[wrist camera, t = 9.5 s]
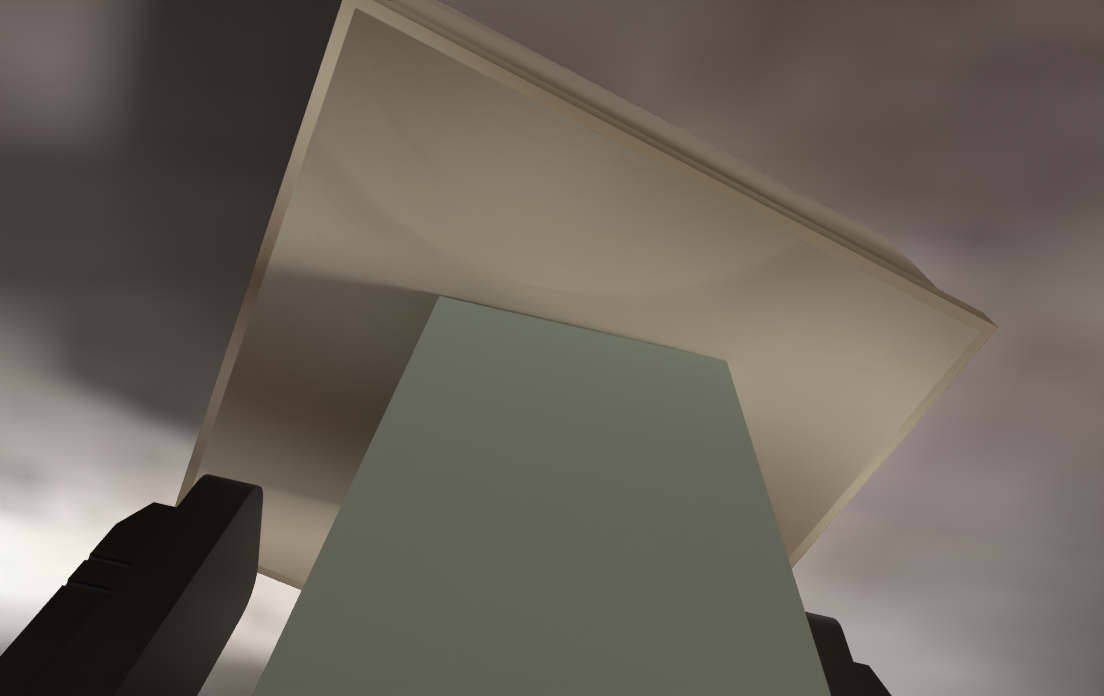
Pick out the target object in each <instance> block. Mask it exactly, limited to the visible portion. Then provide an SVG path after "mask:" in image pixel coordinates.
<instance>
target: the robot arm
mask: <svg viewBox="0 0 1104 696" xmlns="http://www.w3.org/2000/svg"><path fill="white" fill-rule="evenodd" d="M262 508H263V490H262V487H261V486H259V485H254V484H250V483H245V482H241V481H237V480H232V479H228V478H223V477H219V476H215V475H210V474H205V475H203V476H202V477H201V478H200V479H199V480H198V481H197V482H196V483H195V485H194V486H193V487H192V488H191V490H190V491H189V492H188V493H187V495H186V496H185V497H184V499H183V500H182V501H181V502H180V504H179V505H178V506H177V507H173V506H168V505H164V504H159V503H155V502H153V503H152V504H150V505H148V506H146V507H145V508H143V509H141V510H139V511H138V512H136V513H134V514H133V515H131V516H129V517H127V518H126V519H124V520H122V521H120V522H119V523H117V524H116V525H115V526H114V527H113V528H112V529H111V530H110V531H109V533H108V534H107V535H106V536H105V537H104V538H103V540H102V541H101V542H100V543H99V544H98V545H97V546H96V548H95V549H94V550H93V551H92V552H91V553H90V556H89V559H88V560H84V561H83V562H82V564H81V565H80V566H79V567H78V568H77V569H76V570H75V572H74V573H73V574H72V575H71V576H70V577H69V578H68V582H67V584H66V585H65V586H63V585H62V586H61V588H60V589H59V590H58V591H57V592H56V593H55V594H54V596H53V597H52V598H51V599H50V600H49V601H48V602H47V604H46V605H45V606H44V607H43V608H42V609H41V610H40V612H39V613H38V614H37V615H36V616H35V617H34V618H33V620H32V621H31V622H30V623H29V624H28V625H27V626H26V628H25V629H24V630H23V631H22V632H21V633H20V634H19V636H18V637H17V638H16V639H15V640H14V641H13V642H12V644H11V645H10V646H9V647H8V648H7V649H6V650H5V652H4V653H3V654H2V655H1V656H0V696H197V695H198V693H199V691H200V690H201V688H202V686H203V684H204V682H205V681H206V679H207V677H208V675H209V674H210V672H211V670H212V668H213V666H214V665H215V663H216V661H217V659H218V658H219V656H220V654H221V652H222V650H223V649H224V647H225V645H226V643H227V642H228V640H229V638H230V636H231V634H232V633H233V631H234V629H235V627H236V625H237V624H238V622H239V620H240V618H241V617H242V615H243V613H244V611H245V609H246V607H247V604H248V602H249V599H250V597H251V594H252V591H253V588H254V584H255V580H256V576H257V571H258V561H259V548H260V534H261V521H262ZM805 614H806V617H807V620H808V623H809V626H810V630H811V633H812V636H813V639H814V642H815V646H816V649H817V652H818V655H819V658H820V662H821V665H822V668H823V671H824V674H825V678H826V681H827V684H828V687H829V691H830V694H831V696H891V694H890V693H889V692H888V690H887V689H886V688H885V686H884V685H883V684H882V682H881V681H880V680H879V678H878V677H877V676H876V674H875V673H874V672H873V670H872V669H871V668H870V666H869V665H865V664H860V663H856V662H853V659H852V656H851V654H850V651H849V648H848V645H847V642H846V639H845V636H844V633H843V630H842V628H841V625H840V624H839V622H838V621H837V620H836V619H834V618H830V617H826V616H822V615H817V614H813V613H808V612H805Z"/></svg>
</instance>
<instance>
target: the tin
mask: <svg viewBox="0 0 1104 696" xmlns="http://www.w3.org/2000/svg"><path fill="white" fill-rule="evenodd" d="M253 696H831V694H830V691H829V687H828V684H827V681H826V678H825V674H824V671H823V668H822V665H821V662H820V658H819V655H818V652H817V649H816V646H815V642H814V639H813V636H812V633H811V630H810V626H809V623H808V620H807V617H806V614H805V610H804V607H803V604H802V601H801V598H800V594H799V591H798V588H797V585H796V582H795V578H794V575H793V572H792V569H791V565H790V562H789V559H788V556H787V553H786V549H785V546H784V543H783V540H782V537H781V533H780V530H779V527H778V524H777V521H776V517H775V514H774V511H773V508H772V505H771V501H770V498H769V495H768V492H767V489H766V485H765V482H764V479H763V476H762V473H761V469H760V466H759V463H758V460H757V456H756V453H755V450H754V447H753V444H752V440H751V437H750V434H749V431H748V428H747V424H746V421H745V418H744V415H743V412H742V408H741V405H740V402H739V399H738V396H737V392H736V389H735V386H734V383H733V380H732V376H731V373H730V370H729V367H728V364H727V361H726V360H722V359H717V358H713V357H709V356H704V355H700V354H695V353H691V352H686V351H682V350H678V349H673V348H669V347H664V346H660V345H655V344H651V343H647V342H642V341H638V340H633V339H629V338H624V337H620V336H616V335H611V334H607V333H602V332H598V331H593V330H589V329H584V328H580V327H576V326H571V325H567V324H562V323H558V322H553V321H549V320H545V319H540V318H536V317H531V316H527V315H522V314H518V313H514V312H509V311H505V310H500V309H496V308H491V307H487V306H482V305H478V304H474V303H469V302H465V301H460V300H456V299H451V298H447V297H443V296H439V298H438V300H437V302H436V304H435V307H434V309H433V311H432V313H431V315H430V317H429V319H428V321H427V324H426V326H425V328H424V330H423V332H422V334H421V336H420V339H419V341H418V343H417V345H416V347H415V349H414V351H413V354H412V356H411V358H410V360H409V362H408V364H407V366H406V369H405V371H404V373H403V375H402V377H401V379H400V381H399V383H398V386H397V388H396V390H395V392H394V394H393V396H392V398H391V401H390V403H389V405H388V407H387V409H386V411H385V413H384V416H383V418H382V420H381V422H380V424H379V426H378V428H377V430H376V433H375V435H374V437H373V439H372V441H371V443H370V445H369V448H368V450H367V452H366V454H365V456H364V458H363V460H362V463H361V465H360V467H359V469H358V471H357V473H356V475H355V478H354V480H353V482H352V484H351V486H350V488H349V490H348V492H347V495H346V497H345V499H344V501H343V503H342V505H341V507H340V510H339V512H338V514H337V516H336V518H335V520H334V522H333V525H332V527H331V529H330V531H329V533H328V535H327V537H326V540H325V542H324V544H323V546H322V548H321V550H320V552H319V554H318V557H317V559H316V561H315V563H314V565H313V567H312V569H311V572H310V574H309V576H308V578H307V580H306V582H305V584H304V587H303V589H302V591H301V593H300V595H299V597H298V599H297V602H296V604H295V606H294V608H293V610H292V612H291V614H290V616H289V619H288V621H287V623H286V625H285V627H284V629H283V631H282V634H281V636H280V638H279V640H278V642H277V644H276V646H275V649H274V651H273V653H272V655H271V657H270V659H269V661H268V664H267V666H266V668H265V670H264V672H263V674H262V676H261V678H260V681H259V683H258V685H257V687H256V689H255V691H254V693H253Z"/></svg>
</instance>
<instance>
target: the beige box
mask: <svg viewBox="0 0 1104 696" xmlns="http://www.w3.org/2000/svg"><path fill="white" fill-rule="evenodd" d="M439 296H443V297H447V298H451V299H456V300H460V301H465V302H469V303H474V304H478V305H482V306H487V307H491V308H496V309H500V310H505V311H509V312H514V313H518V314H522V315H527V316H531V317H536V318H540V319H545V320H549V321H553V322H558V323H562V324H567V325H571V326H576V327H580V328H584V329H589V330H593V331H598V332H602V333H607V334H611V335H616V336H620V337H624V338H629V339H633V340H638V341H642V342H647V343H651V344H655V345H660V346H664V347H669V348H673V349H678V350H682V351H686V352H691V353H695V354H700V355H704V356H709V357H713V358H717V359H722V360H726V361H727V364H728V367H729V370H730V373H731V376H732V380H733V383H734V386H735V389H736V392H737V396H738V399H739V402H740V405H741V408H742V412H743V415H744V418H745V421H746V424H747V428H748V431H749V434H750V437H751V440H752V444H753V447H754V450H755V453H756V456H757V460H758V463H759V466H760V469H761V473H762V476H763V479H764V482H765V485H766V489H767V492H768V495H769V498H770V501H771V505H772V508H773V511H774V514H775V517H776V521H777V524H778V527H779V530H780V533H781V537H782V540H783V543H784V546H785V549H786V553H787V556H788V559H789V562H790V565H791V569H792V568H793V567H794V565H795V564H796V563H797V562H798V561H799V560H800V558H801V557H802V556H803V555H804V554H805V553H806V551H807V550H808V549H809V548H810V547H811V546H812V544H813V543H814V542H815V541H816V540H817V539H818V537H819V536H820V535H821V534H822V533H823V532H824V530H825V529H826V528H827V527H828V526H829V525H830V523H831V522H832V521H833V520H834V519H835V518H836V516H837V515H838V514H839V513H840V512H841V511H842V509H843V508H844V507H845V506H846V505H847V504H848V502H849V501H850V500H851V499H852V498H853V497H854V495H855V494H856V493H857V492H858V491H859V490H860V488H861V487H862V486H863V485H864V484H865V483H866V481H867V480H868V479H869V478H870V477H871V476H872V474H873V473H874V472H875V471H876V470H877V469H878V468H879V466H880V465H881V464H882V463H883V462H884V461H885V459H886V458H887V457H888V456H889V455H890V454H891V452H892V451H893V450H894V449H895V448H896V447H897V445H898V444H899V443H900V442H901V441H902V440H903V438H904V437H905V436H906V435H907V434H908V433H909V431H910V430H911V429H912V428H913V427H914V426H915V424H916V423H917V422H918V421H919V420H920V419H921V417H922V416H923V415H924V414H925V413H926V412H927V410H928V409H929V408H930V407H931V406H932V405H933V403H934V402H935V401H936V400H937V399H938V398H939V396H940V395H941V394H942V393H943V392H944V391H945V389H946V388H947V387H948V386H949V385H950V384H951V382H952V381H953V380H954V379H955V378H956V377H957V375H958V374H959V373H960V372H961V371H962V370H963V368H964V367H965V366H966V365H967V364H968V363H969V361H970V360H971V359H972V358H973V357H974V356H975V354H976V353H977V352H978V351H979V350H980V349H981V347H982V346H983V345H984V344H985V343H986V342H987V340H988V339H989V338H990V337H991V336H992V335H993V333H994V332H995V331H996V330H997V329H998V327H997V326H996V325H995V324H994V323H993V322H992V321H991V320H990V319H989V318H988V317H987V316H986V315H985V314H984V313H983V312H981V311H979V310H977V309H975V308H973V307H971V306H969V305H967V304H966V303H964V302H962V301H960V300H958V299H956V298H954V297H952V296H950V295H948V294H946V293H945V292H943V291H941V290H939V289H937V288H936V287H935V286H934V284H933V283H932V282H931V281H930V280H929V279H928V278H927V277H926V276H925V275H924V274H923V273H922V272H921V271H920V270H919V269H918V268H917V267H916V266H915V265H914V264H913V263H912V262H911V261H910V260H909V259H908V258H907V257H906V256H905V255H904V254H903V253H902V252H901V251H900V250H899V249H898V248H897V247H896V246H895V245H894V244H893V243H892V242H891V241H890V240H889V239H887V238H885V237H883V236H881V235H879V234H878V233H876V232H874V231H872V230H870V229H868V228H866V227H864V226H862V225H861V224H859V223H857V222H855V221H853V220H851V219H849V218H847V217H845V216H844V215H842V214H840V213H838V212H836V211H834V210H832V209H830V208H828V207H827V206H825V205H823V204H821V203H819V202H817V201H815V200H813V199H811V198H810V197H808V196H806V195H804V194H802V193H800V192H798V191H796V190H794V189H793V188H791V187H789V186H787V185H785V184H783V183H781V182H779V181H777V180H776V179H774V178H772V177H770V176H768V175H766V174H764V173H762V172H760V171H759V170H757V169H755V168H753V167H751V166H749V165H747V164H745V163H743V162H742V161H740V160H738V159H736V158H734V157H732V156H730V155H728V154H727V153H725V152H723V151H721V150H719V149H717V148H715V147H713V146H711V145H710V144H708V143H706V142H704V141H702V140H700V139H698V138H696V137H694V136H693V135H691V134H689V133H687V132H685V131H683V130H681V129H679V128H677V127H676V126H674V125H672V124H670V123H668V122H666V121H664V120H662V119H660V118H659V117H657V116H655V115H653V114H651V113H649V112H647V111H645V110H643V109H642V108H640V107H638V106H636V105H634V104H632V103H630V102H628V101H626V100H625V99H623V98H621V97H619V96H617V95H615V94H613V93H611V92H609V91H608V90H606V89H604V88H602V87H600V86H598V85H596V84H594V83H592V82H591V81H589V80H587V79H585V78H583V77H581V76H579V75H577V74H575V73H574V72H572V71H570V70H568V69H566V68H564V67H562V66H560V65H558V64H557V63H555V62H553V61H551V60H549V59H547V58H545V57H543V56H541V55H540V54H538V53H536V52H534V51H532V50H530V49H528V48H526V47H524V46H523V45H521V44H519V43H517V42H515V41H513V40H511V39H509V38H507V37H506V36H504V35H502V34H500V33H498V32H496V31H494V30H492V29H490V28H489V27H487V26H485V25H483V24H481V23H479V22H477V21H475V20H474V19H472V18H470V17H468V16H466V15H464V14H462V13H460V12H458V11H457V10H455V9H453V8H451V7H449V6H447V5H445V4H443V3H441V2H440V1H438V0H390V1H388V0H342V3H341V6H340V9H339V12H338V15H337V18H336V21H335V24H334V27H333V30H332V33H331V36H330V39H329V42H328V45H327V48H326V51H325V54H324V57H323V60H322V64H321V67H320V70H319V73H318V76H317V79H316V82H315V85H314V88H313V91H312V94H311V97H310V100H309V103H308V106H307V109H306V112H305V115H304V118H303V121H302V124H301V127H300V130H299V133H298V136H297V139H296V142H295V145H294V148H293V151H292V154H291V157H290V160H289V163H288V166H287V169H286V172H285V175H284V178H283V181H282V184H281V187H280V190H279V193H278V196H277V199H276V203H275V206H274V209H273V212H272V215H271V218H270V221H269V224H268V227H267V230H266V233H265V236H264V239H263V242H262V245H261V248H260V251H259V254H258V257H257V260H256V263H255V266H254V269H253V272H252V275H251V278H250V281H249V284H248V287H247V290H246V293H245V296H244V299H243V302H242V305H241V308H240V311H239V314H238V317H237V320H236V323H235V326H234V329H233V332H232V335H231V338H230V342H229V345H228V348H227V351H226V354H225V357H224V360H223V363H222V366H221V369H220V372H219V375H218V378H217V381H216V384H215V387H214V390H213V393H212V396H211V399H210V402H209V405H208V408H207V411H206V414H205V417H204V420H203V423H202V426H201V429H200V432H199V435H198V438H197V441H196V444H195V447H194V450H193V453H192V456H191V459H190V462H189V465H188V468H187V471H186V474H185V478H184V481H183V484H182V487H181V490H180V493H179V496H178V499H177V502H176V505H175V507H177V506H178V505H179V504H180V502H181V501H182V500H183V499H184V497H185V496H186V495H187V493H188V492H189V491H190V490H191V488H192V487H193V486H194V485H195V483H196V482H197V481H198V480H199V479H200V478H201V477H202V476H203V475H205V474H210V475H215V476H219V477H223V478H228V479H232V480H237V481H241V482H245V483H250V484H254V485H259V486H261V487H262V490H263V508H262V521H261V534H260V548H259V561H258V571H257V572H258V573H260V574H263V575H265V576H268V577H270V578H273V579H275V580H277V581H280V582H282V583H285V584H287V585H290V586H292V587H295V588H297V589H300V590H302V589H303V587H304V584H305V582H306V580H307V578H308V576H309V574H310V572H311V569H312V567H313V565H314V563H315V561H316V559H317V557H318V554H319V552H320V550H321V548H322V546H323V544H324V542H325V540H326V537H327V535H328V533H329V531H330V529H331V527H332V525H333V522H334V520H335V518H336V516H337V514H338V512H339V510H340V507H341V505H342V503H343V501H344V499H345V497H346V495H347V492H348V490H349V488H350V486H351V484H352V482H353V480H354V478H355V475H356V473H357V471H358V469H359V467H360V465H361V463H362V460H363V458H364V456H365V454H366V452H367V450H368V448H369V445H370V443H371V441H372V439H373V437H374V435H375V433H376V430H377V428H378V426H379V424H380V422H381V420H382V418H383V416H384V413H385V411H386V409H387V407H388V405H389V403H390V401H391V398H392V396H393V394H394V392H395V390H396V388H397V386H398V383H399V381H400V379H401V377H402V375H403V373H404V371H405V369H406V366H407V364H408V362H409V360H410V358H411V356H412V354H413V351H414V349H415V347H416V345H417V343H418V341H419V339H420V336H421V334H422V332H423V330H424V328H425V326H426V324H427V321H428V319H429V317H430V315H431V313H432V311H433V309H434V307H435V304H436V302H437V300H438V298H439Z"/></svg>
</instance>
